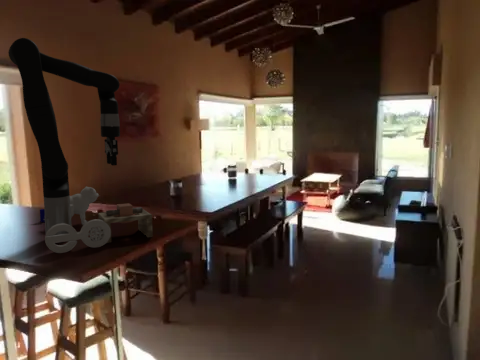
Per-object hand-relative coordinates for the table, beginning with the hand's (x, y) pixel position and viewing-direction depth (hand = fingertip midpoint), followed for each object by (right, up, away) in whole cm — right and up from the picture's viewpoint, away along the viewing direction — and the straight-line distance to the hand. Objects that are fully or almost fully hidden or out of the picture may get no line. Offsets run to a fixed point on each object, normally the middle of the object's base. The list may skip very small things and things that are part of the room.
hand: (111, 164), depth 170 cm
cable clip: (-38, -26, +26) cm, 53 cm away
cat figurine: (-21, -27, +13) cm, 37 cm away
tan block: (+7, -23, -6) cm, 25 cm away
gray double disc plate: (-4, -32, -23) cm, 39 cm away
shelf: (+7, -29, -5) cm, 30 cm away
